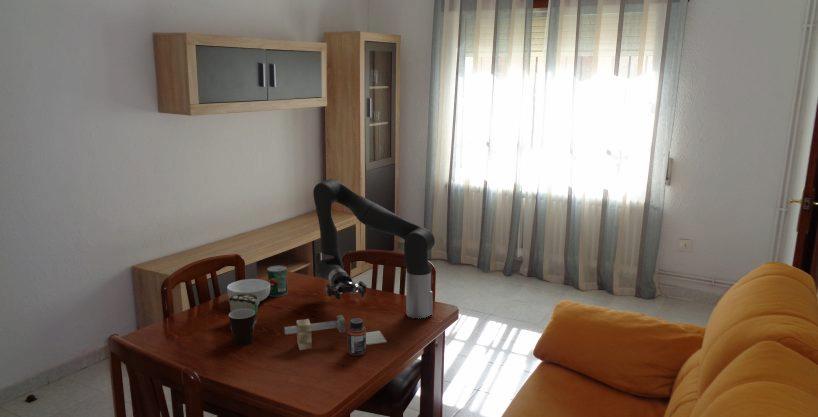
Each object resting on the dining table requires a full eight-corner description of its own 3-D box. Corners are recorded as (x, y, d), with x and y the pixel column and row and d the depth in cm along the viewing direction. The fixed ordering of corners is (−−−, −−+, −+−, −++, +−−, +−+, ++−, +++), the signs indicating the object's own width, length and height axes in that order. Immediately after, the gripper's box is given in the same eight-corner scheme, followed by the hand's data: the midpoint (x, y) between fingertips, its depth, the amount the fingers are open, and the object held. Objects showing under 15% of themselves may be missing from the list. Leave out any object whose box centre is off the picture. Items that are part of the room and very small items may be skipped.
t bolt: (342, 326, 206) (342, 314, 205) (345, 331, 201) (344, 319, 201) (284, 334, 199) (283, 321, 198) (285, 339, 195) (285, 327, 194)
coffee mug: (249, 347, 199) (247, 319, 197) (225, 345, 201) (223, 317, 199) (264, 333, 210) (263, 306, 208) (241, 331, 212) (240, 304, 210)
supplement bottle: (348, 348, 198) (347, 317, 196) (365, 348, 199) (365, 316, 197) (347, 357, 193) (347, 324, 190) (366, 356, 193) (365, 323, 191)
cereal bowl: (279, 299, 242) (279, 283, 241) (248, 312, 229) (247, 295, 227) (250, 291, 251) (249, 275, 250) (218, 303, 238) (217, 287, 236)
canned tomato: (264, 295, 247) (263, 269, 245) (275, 289, 254) (274, 264, 252) (280, 297, 244) (279, 272, 242) (291, 291, 251) (290, 266, 249)
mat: (379, 331, 212) (379, 330, 212) (386, 342, 204) (386, 341, 204) (354, 335, 209) (354, 334, 209) (361, 345, 201) (360, 344, 201)
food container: (267, 320, 222) (265, 294, 220) (257, 326, 216) (256, 300, 214) (238, 315, 226) (237, 290, 224) (228, 321, 220) (227, 296, 218)
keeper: (309, 342, 203) (308, 318, 201) (311, 348, 198) (310, 324, 197) (297, 344, 202) (296, 320, 200) (299, 350, 197) (298, 326, 195)
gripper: (321, 273, 224) (331, 287, 209) (358, 269, 229) (370, 283, 214) (321, 291, 226) (331, 307, 211) (358, 288, 231) (370, 303, 216)
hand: (351, 295), depth 213 cm, fingers open, 8 cm apart
